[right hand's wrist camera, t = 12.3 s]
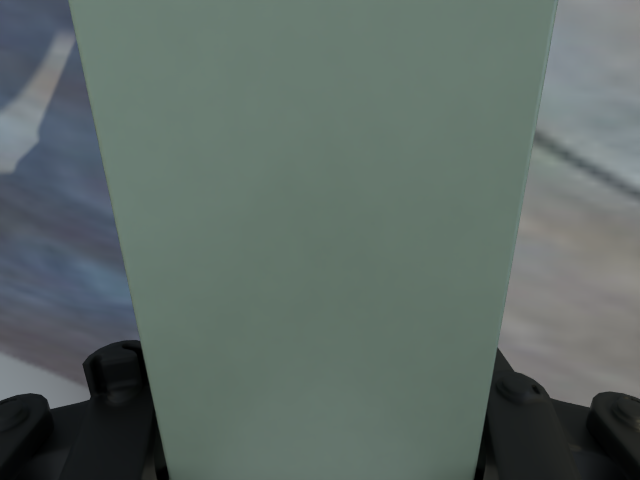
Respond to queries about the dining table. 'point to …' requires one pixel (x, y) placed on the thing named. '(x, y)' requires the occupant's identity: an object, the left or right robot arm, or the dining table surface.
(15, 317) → the dining table surface
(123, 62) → the sage box
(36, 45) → the dining table surface
